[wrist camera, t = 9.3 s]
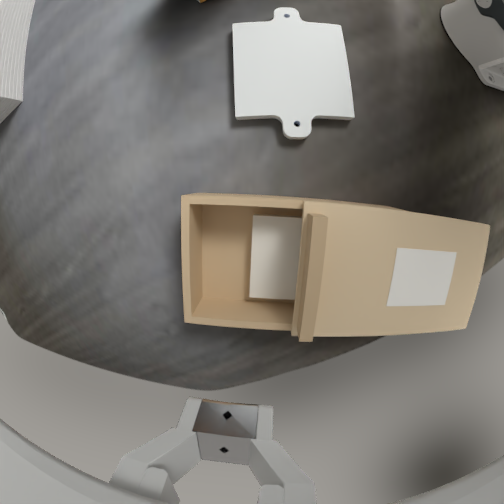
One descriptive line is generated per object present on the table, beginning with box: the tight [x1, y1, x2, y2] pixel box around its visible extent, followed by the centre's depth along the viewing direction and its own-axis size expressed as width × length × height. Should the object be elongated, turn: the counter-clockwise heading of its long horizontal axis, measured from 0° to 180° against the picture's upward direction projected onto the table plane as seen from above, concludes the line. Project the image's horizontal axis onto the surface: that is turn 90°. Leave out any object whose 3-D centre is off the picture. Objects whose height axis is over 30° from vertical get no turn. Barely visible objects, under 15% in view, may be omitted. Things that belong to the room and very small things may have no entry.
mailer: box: [181, 193, 410, 331], centre depth 28 cm, size 22×13×6 cm, turn 88°
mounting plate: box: [233, 8, 355, 139], centre depth 25 cm, size 18×13×2 cm
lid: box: [291, 201, 490, 342], centre depth 23 cm, size 23×13×3 cm, turn 88°
